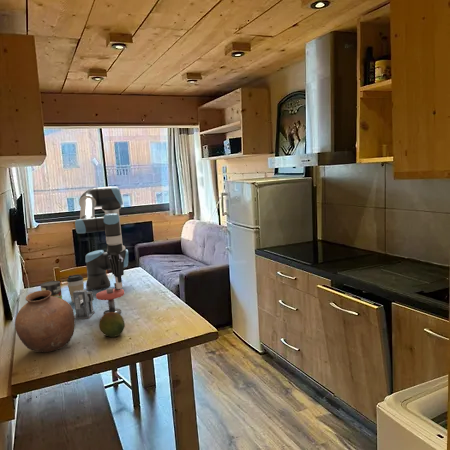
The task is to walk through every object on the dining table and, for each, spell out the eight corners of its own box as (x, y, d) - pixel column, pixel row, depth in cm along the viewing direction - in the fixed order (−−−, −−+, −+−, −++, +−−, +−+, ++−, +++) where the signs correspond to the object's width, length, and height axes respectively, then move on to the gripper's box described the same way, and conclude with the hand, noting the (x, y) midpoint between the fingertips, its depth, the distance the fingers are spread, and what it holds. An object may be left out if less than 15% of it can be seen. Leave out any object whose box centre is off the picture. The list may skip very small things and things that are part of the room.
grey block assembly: (80, 311, 219) (77, 286, 217) (97, 309, 219) (93, 285, 217) (71, 319, 207) (68, 294, 205) (89, 318, 206) (85, 292, 205)
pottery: (68, 333, 189) (61, 280, 185) (85, 348, 170) (77, 290, 167) (14, 349, 175) (5, 293, 172) (26, 367, 157) (16, 305, 154)
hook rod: (87, 300, 223) (85, 288, 222) (93, 299, 223) (92, 287, 222) (75, 311, 205) (73, 299, 204) (81, 311, 205) (80, 298, 204)
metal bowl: (106, 311, 216) (104, 294, 215) (123, 309, 216) (121, 293, 214) (101, 317, 207) (99, 300, 206) (118, 315, 207) (116, 298, 205)
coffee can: (67, 304, 233) (63, 280, 231) (56, 310, 223) (52, 285, 221) (51, 304, 235) (47, 280, 233) (39, 310, 225) (36, 286, 223)
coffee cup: (88, 297, 242) (85, 273, 240) (81, 302, 233) (78, 277, 231) (74, 298, 243) (70, 273, 241) (66, 303, 234) (63, 278, 232)
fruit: (116, 327, 191) (114, 307, 189) (133, 333, 183) (131, 311, 181) (95, 336, 182) (92, 315, 181) (111, 342, 174) (109, 320, 173)
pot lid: (110, 301, 200) (108, 291, 200) (90, 298, 208) (89, 288, 207) (130, 292, 212) (129, 283, 212) (110, 290, 219) (109, 281, 219)
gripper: (101, 244, 211) (106, 288, 215) (114, 246, 202) (119, 292, 205) (114, 241, 217) (119, 284, 220) (127, 243, 207) (132, 288, 211)
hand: (119, 288), depth 213 cm, fingers closed
